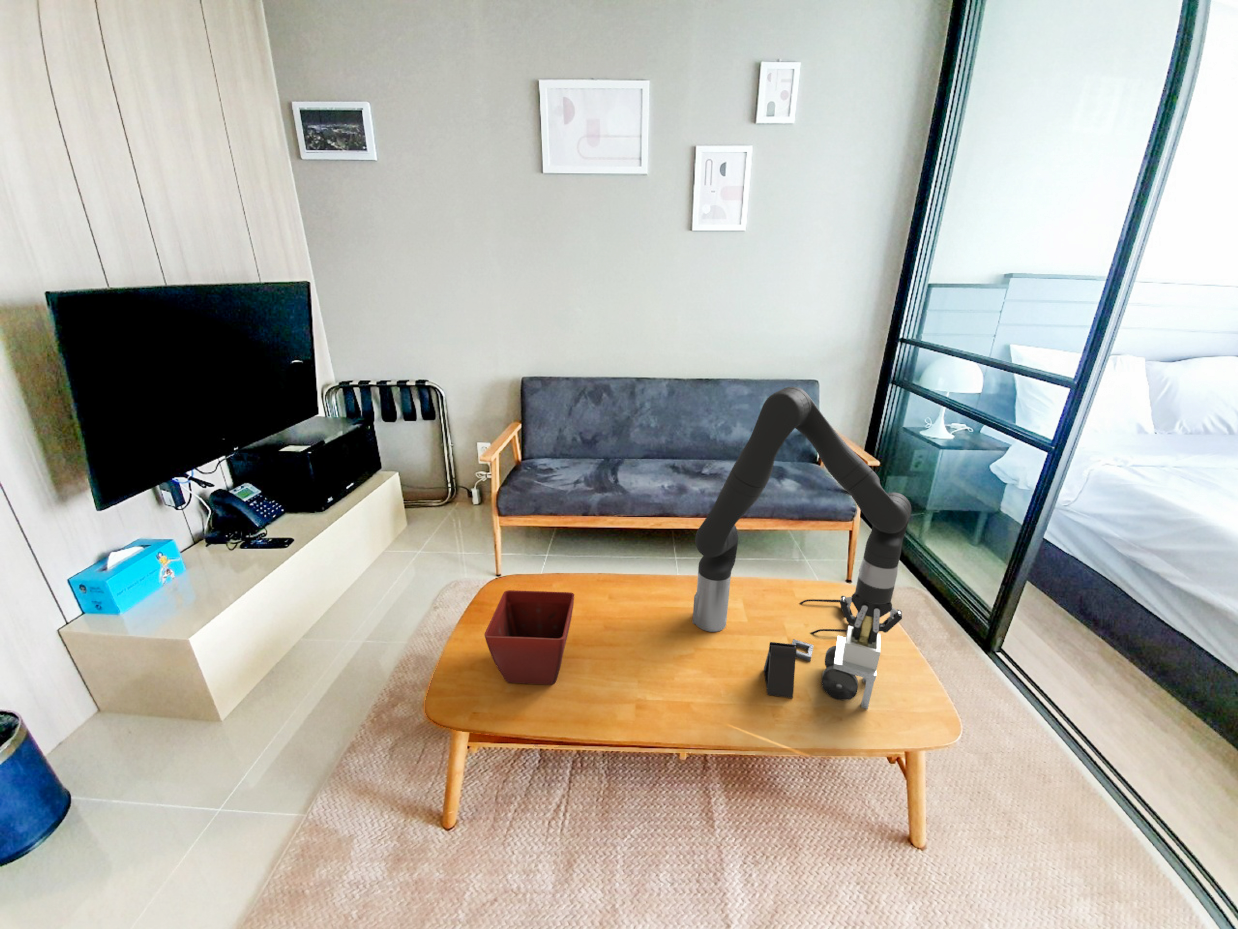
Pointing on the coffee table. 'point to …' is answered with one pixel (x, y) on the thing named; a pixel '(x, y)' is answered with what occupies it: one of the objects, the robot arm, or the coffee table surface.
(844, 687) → the trolley
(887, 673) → the coffee table surface
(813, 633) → the eyeglasses
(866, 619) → the pin
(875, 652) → the tray
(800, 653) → the pin socket
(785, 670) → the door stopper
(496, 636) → the plant pot
